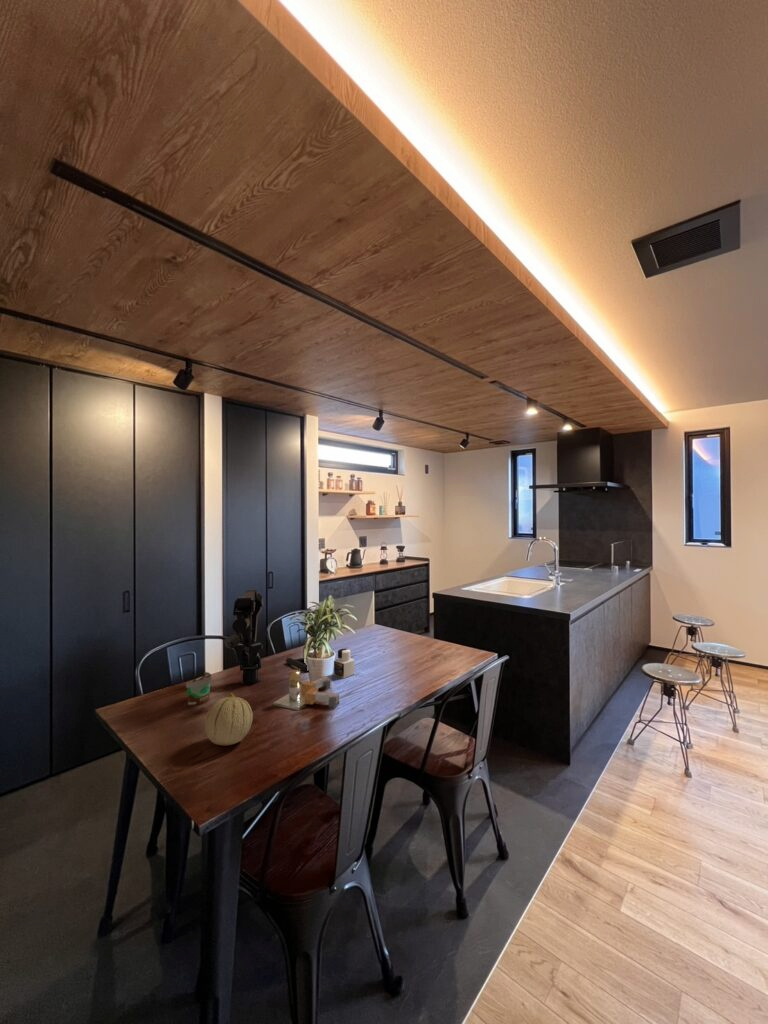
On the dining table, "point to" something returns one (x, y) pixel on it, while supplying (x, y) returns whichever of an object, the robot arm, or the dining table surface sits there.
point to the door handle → (297, 663)
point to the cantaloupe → (228, 720)
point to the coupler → (294, 685)
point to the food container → (199, 690)
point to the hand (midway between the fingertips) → (244, 664)
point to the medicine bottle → (344, 664)
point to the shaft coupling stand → (311, 695)
